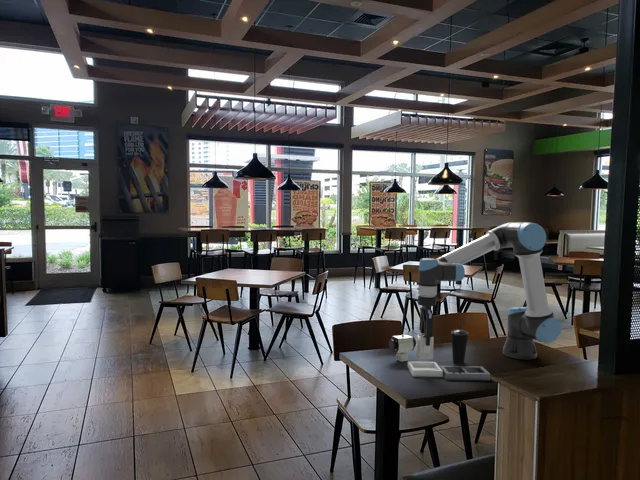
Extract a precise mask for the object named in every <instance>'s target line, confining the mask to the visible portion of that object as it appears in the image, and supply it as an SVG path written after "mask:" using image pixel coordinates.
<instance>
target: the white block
mask: <svg viewBox="0 0 640 480" xmlns="http://www.w3.org/2000/svg"><path fill="white" fill-rule="evenodd" d="M423 336H425V334H421V333H420V334H417V340H416V356H417V358H418V359H419V360H434V343H435V342H434V340H435V338H434V336H432V337H431V347H430V353H423V347H424V338H423Z"/></svg>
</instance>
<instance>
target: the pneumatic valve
mask: <svg viewBox="0 0 640 480" xmlns="http://www.w3.org/2000/svg"><path fill="white" fill-rule="evenodd" d="M388 347H389V349H390V350H391V351H393V352H394V353H396V355H395V359H396V360H397V361H399V362H400V363H401V362H408V359H409V354H408V353H407V352H413V351H414V350H415V348H416V347H417V340H416V338H415V337H414V336H412V335H410V334H404V333H403V334H401V335H392V336H391V338H390V340H389V341H388Z"/></svg>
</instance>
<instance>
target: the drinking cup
mask: <svg viewBox="0 0 640 480" xmlns="http://www.w3.org/2000/svg"><path fill="white" fill-rule="evenodd" d="M458 323H459V325H458V326H459V328H458V329H457V328H455V329H454V330H451V331H450V334H451V350H452V352H451V353H452V362H453V364H455V365H456V364H457V365H463V364H465V359H466V351H467V346H468V345H467V343H468V337H469V334H470V333H469V332H468V331H466V330H464V329H462V318H461V317H460V318H459V321H458Z"/></svg>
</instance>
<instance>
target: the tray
mask: <svg viewBox="0 0 640 480" xmlns="http://www.w3.org/2000/svg"><path fill="white" fill-rule="evenodd" d="M407 368H408V370H409V372H410V375H411V376H412V377H415V378H416V377H420V378H444V377H443V371H442V369H441V368H440V365H438V363H437V362H436V361H408V360H407Z"/></svg>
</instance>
